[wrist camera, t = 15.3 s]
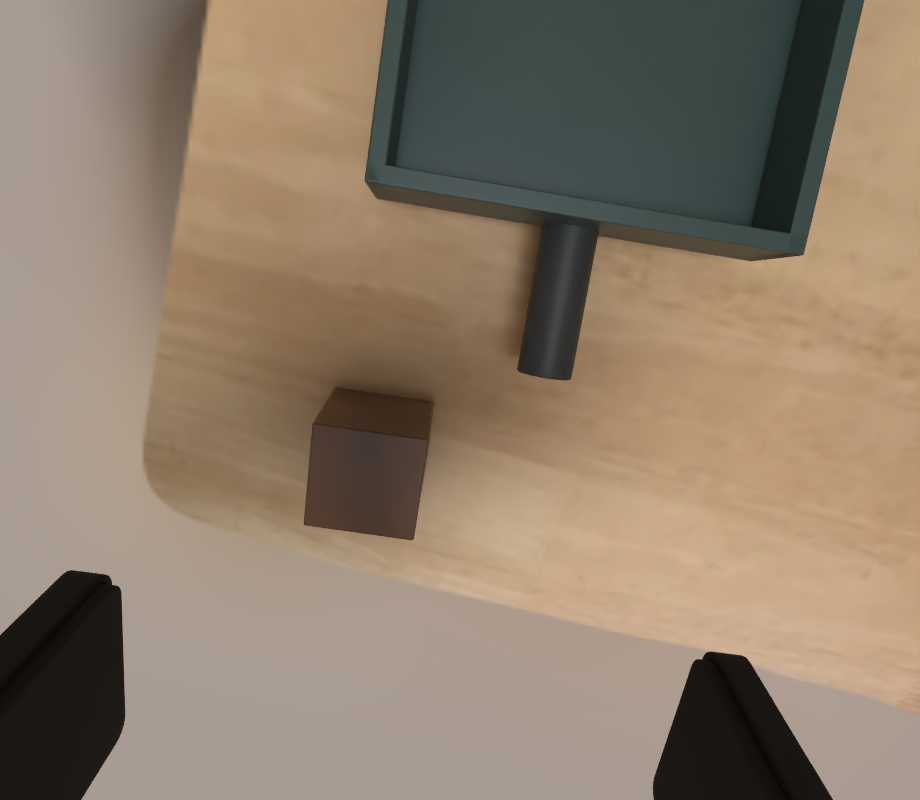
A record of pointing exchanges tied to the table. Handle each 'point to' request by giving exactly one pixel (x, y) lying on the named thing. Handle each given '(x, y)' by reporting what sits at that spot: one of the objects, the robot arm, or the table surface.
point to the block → (368, 463)
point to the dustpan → (611, 129)
